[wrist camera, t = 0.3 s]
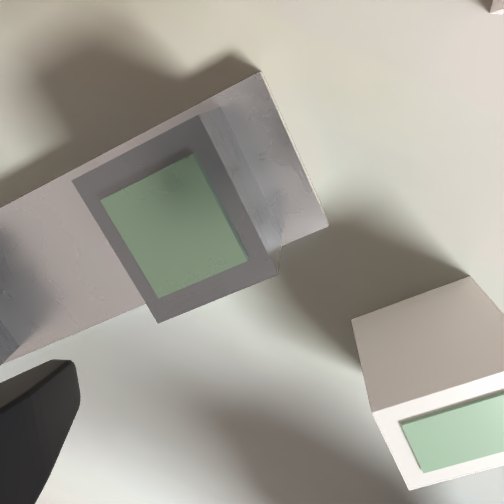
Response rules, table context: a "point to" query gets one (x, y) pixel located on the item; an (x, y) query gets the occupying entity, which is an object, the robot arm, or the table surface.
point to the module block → (437, 381)
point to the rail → (156, 222)
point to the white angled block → (497, 7)
